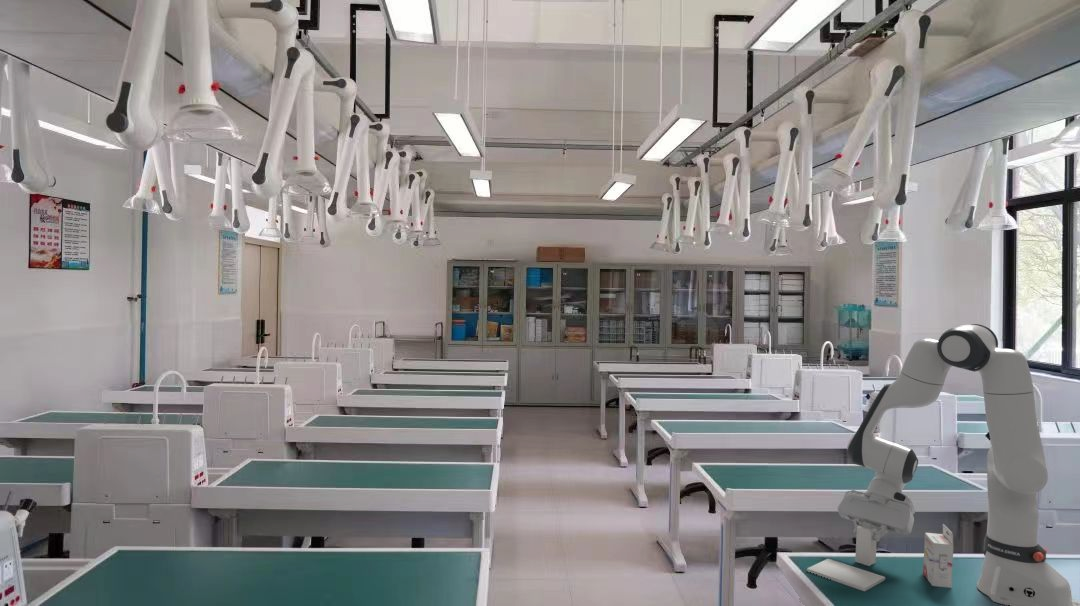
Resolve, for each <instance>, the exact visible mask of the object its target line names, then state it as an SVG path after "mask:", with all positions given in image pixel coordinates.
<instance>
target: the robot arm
mask: <svg viewBox="0 0 1080 606" xmlns="http://www.w3.org/2000/svg"><path fill="white" fill-rule="evenodd" d="M938 338H939V339H934V338H920V339H918V340H916V341H915V342H914V344H913V345H912V346H911V348H910V350H909V352H908V354H907V355H906V358H905V360H904V363H903V365H902V368H901V370H900V374H899V375H898V377H897V378H896V380H894V381H893V382H892V383H887V384H885V385H884V386H883V387H882V388H881V389H880V390H879V392H878V393H877V395H876V397H875V399H874V400H873V402H872V403H871V406H870V407H869V409H868V411H867V413H866V414H865V415H864V418H863V420H862V422H861V423H860V425H859V426H858V429H857V431H855V433H854V434H853V435H852V437H851V438H850V439H849V442H848V443H847V447H846V454H847V456H848V458H849V460H850V461H851V462H852V464H854V465H857V466H859V467H860V466H861V467H863V468H868V469H870V470H873V471H875V473H874V477H873V478H872V479H871V480H870V483H869V485H868V487H867V490H866V491H865V492H864V491H859V490H855V489H852V490H848V491H846V492H845V493H844V496H843V497H842V499H841V501H840V503H839V505H838V506H837V513H838V514H839V516H840V517H841V518H842V519H845V520H848V521H853V525H854V528H853V531H852V533H853V535H854V536H857V527H858V526H861V525H862V522H863V521H865V522H868V523H872V527H875V528H877V529H878V528H879V529H880V530H877V533H875V532H874V533H873V536H872V539H873V540H875V541H877V542H880V540H881V538H882V537H884V536H885V535H887V534H888V532H893V533H896V534H900V535H903V536H908V535H909V534H911V532H912V531H913V526H914V523H915V517H914V514H915V513H916V508H915V505H914V503H913V501H912V500H911V498H910V497H909V495H906V494H904V493H903V489H904V487H906V485H907V483H910V482H911V481H912V480H913V478H914V475H915V473H916V471H917V468H918V465H919V459H918V457H917V455H916V453H915V451H914V450H913V449H911V448H909V447H907V446H905V445H903V444H900V443H896V442H894V441H890V440H888V439H886V438H882V437H879V436H878V435H876V434H875V430H876V428H877V426H878V425H879V423H880V421H881V420H882V418H883V415H884V414H885V413H886V412H887V411H889V410H892V409H899V408H900V409H917V408H923V407H927V406H930V405H931V404H933V403H934V402H936V401H937V399H938V398H939V396H940V394H941V392H942V389H943V387H944V384H945V381H946V378H947V376H948V372H949V371H950V369H951V368H952V367H955V368H959V369H962V370H967V371H971V372H978V373H979V374H980V377H981V381H982V390H983V401H984V411H985V421H986V425H987V429H988V434H989V435H988V436H989V439H990V445H991V446H990V447H989V449H988V451H987V456H986V475H987V476H986V480H987V481H986V482H987V483H986V485H987V499H988V500H987V501H988V503H987V504H988V505H987V508H988V509H987V526H986V533H985V535H984V540H983V556H984V560H983V564H982V568H981V572H980V576H979V578H978V581H977V583H976V588H977V589H978V590H979V591H980V592H981V593H982V594H984V595H986V596H988V597H989V599H990V600H991V601H993V602H994V603H996V604H997V603H998V604H1001V605H1005V606H1008V605H1010V606H1080V601H1079V600H1076V599H1074V598H1073V596H1072V588H1071V585H1070V583H1069V580H1067V578H1065V577H1064V576H1063V575H1062V574H1060V572H1058V571H1057V570H1056V569H1055V568H1054V567H1053V566H1052V565H1050V564H1049V563H1048V562H1047V560H1046V559H1047V553H1048V548H1047V547H1045V548H1043V547H1042V546H1041V545H1040V544H1039V543H1038V538H1039V536H1038V534H1039V519H1040V516H1039V515H1040V513H1039V507H1038V498H1037V493H1039V492H1040V491H1042V490H1043V489H1044V488H1045V487H1046V485H1047V483H1048V478H1049V477H1048V476H1049V475H1048V469H1047V464H1046V458H1045V453H1044V447H1043V443H1042V438H1041V434H1040V430H1039V426H1038V419H1037V412H1036V401H1035V394H1034V393H1035V391H1034V385H1033V379H1032V374H1031V371H1030V367H1029V364H1028V361H1027V358H1026V356H1025V355H1024V354H1023V353H1022V352H1020V351H1019V350H1015V349H1012V348H1001V347H999V340H998V338H997V335H996V333H995V332H994V331H993V330H992V329H990V328H989V327H987V326H985V325H982V324H980V323H979V324H978V323H977V324H976V323H973V324H961V325H958V326H957V325H956V326H955V327H951V328H948V329H947V330H945V331H944V332H943V333H942V334H941V336H940V337H938Z"/></svg>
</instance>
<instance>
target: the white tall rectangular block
mask: <svg viewBox="0 0 1080 606" xmlns="http://www.w3.org/2000/svg"><path fill="white" fill-rule="evenodd" d="M874 532H875V533H877V532H878V527H874V526H872V523H868V522H865V521H863V522H862V523H861V525H860V526H859V525H858V527H857V535H855V536H856V537H855V542H856V543H855V559H854V562H856V563H858V564H861V565H864V566H867V567H871V566H872V565H874V564H875V563H876V559H877V558H876V557H877V544H878V543H877V542H878V541H875V540H873V539H872V536H873V533H874Z"/></svg>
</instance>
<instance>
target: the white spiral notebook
mask: <svg viewBox="0 0 1080 606" xmlns="http://www.w3.org/2000/svg"><path fill="white" fill-rule="evenodd" d="M807 571H808V573H810V572H811V573H810V574H813V573H814V574H813V575H816V574H817V575H816V576H819V577H821V576H822V578H824V577H825V579H827V578H828V579H827V580H830V579H831V580H830V581H833V582H836V583H838V584H842V585H845V586H847V587H850V588H854V589H856V590H859V591H862V592H866V591H868V590H870V589H871V588H874V587H875V586H877V585H878V584H880V583H882V582H884V581H885V580H886V577H885V576H884V575H879V574H876V573H874V572H871V571H869V570H864V569H861V568H859V567H856V566H852V565H850V564H846V563H843V562H841V561H837V560H834V559H831V558H826V559H824V560H822V561H820V562H818V563H815V564H814V565H811V566H808V567H807V568H806V572H807Z"/></svg>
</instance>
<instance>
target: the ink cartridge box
mask: <svg viewBox="0 0 1080 606" xmlns="http://www.w3.org/2000/svg"><path fill="white" fill-rule="evenodd" d="M923 548H924V550H923V567H922V574H923V576H925V578H926V579H927V581H928V583H930V585H931V587H939V588H947V589H948V588H949V589H951V588H952V586H953V585H952V583H953V566H954V565H953V564H954V563H953V562H954V533H953V532H952V531H951V530H950V529H949V528H948V527H947V526H946V525H945V524H944V523H942V533H935V532H934V533H932V532H924V547H923Z"/></svg>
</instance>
